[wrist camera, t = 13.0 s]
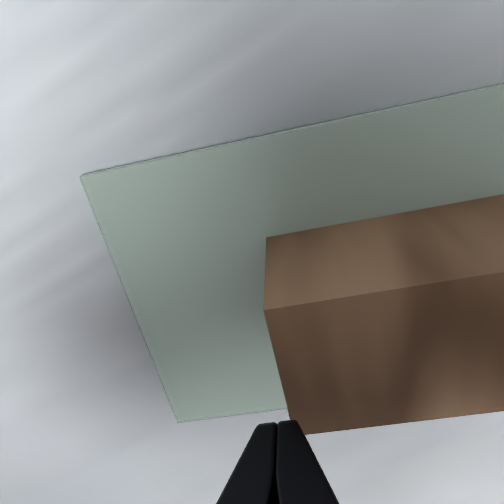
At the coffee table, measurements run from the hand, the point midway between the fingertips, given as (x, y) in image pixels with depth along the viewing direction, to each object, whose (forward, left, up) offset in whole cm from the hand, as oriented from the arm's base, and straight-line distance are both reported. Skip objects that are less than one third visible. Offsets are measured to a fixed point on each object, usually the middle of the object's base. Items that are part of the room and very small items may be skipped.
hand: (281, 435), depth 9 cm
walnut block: (0, 0, -4) cm, 4 cm away
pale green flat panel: (0, -2, -6) cm, 6 cm away
